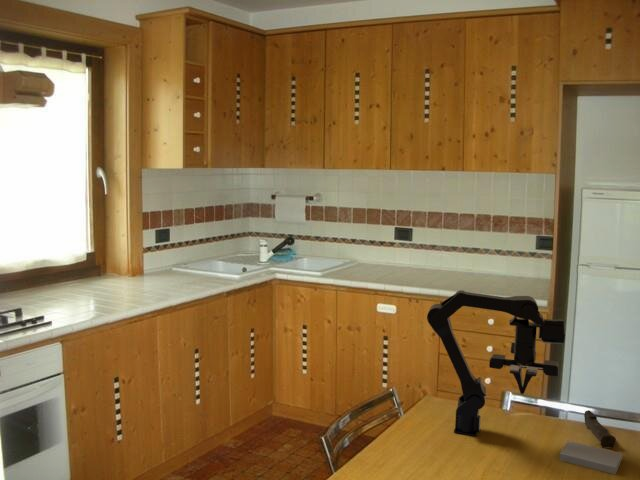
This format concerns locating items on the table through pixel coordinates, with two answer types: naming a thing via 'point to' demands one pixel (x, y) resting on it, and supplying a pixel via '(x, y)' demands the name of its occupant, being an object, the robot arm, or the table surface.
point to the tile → (591, 457)
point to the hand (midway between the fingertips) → (522, 393)
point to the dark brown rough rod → (598, 430)
